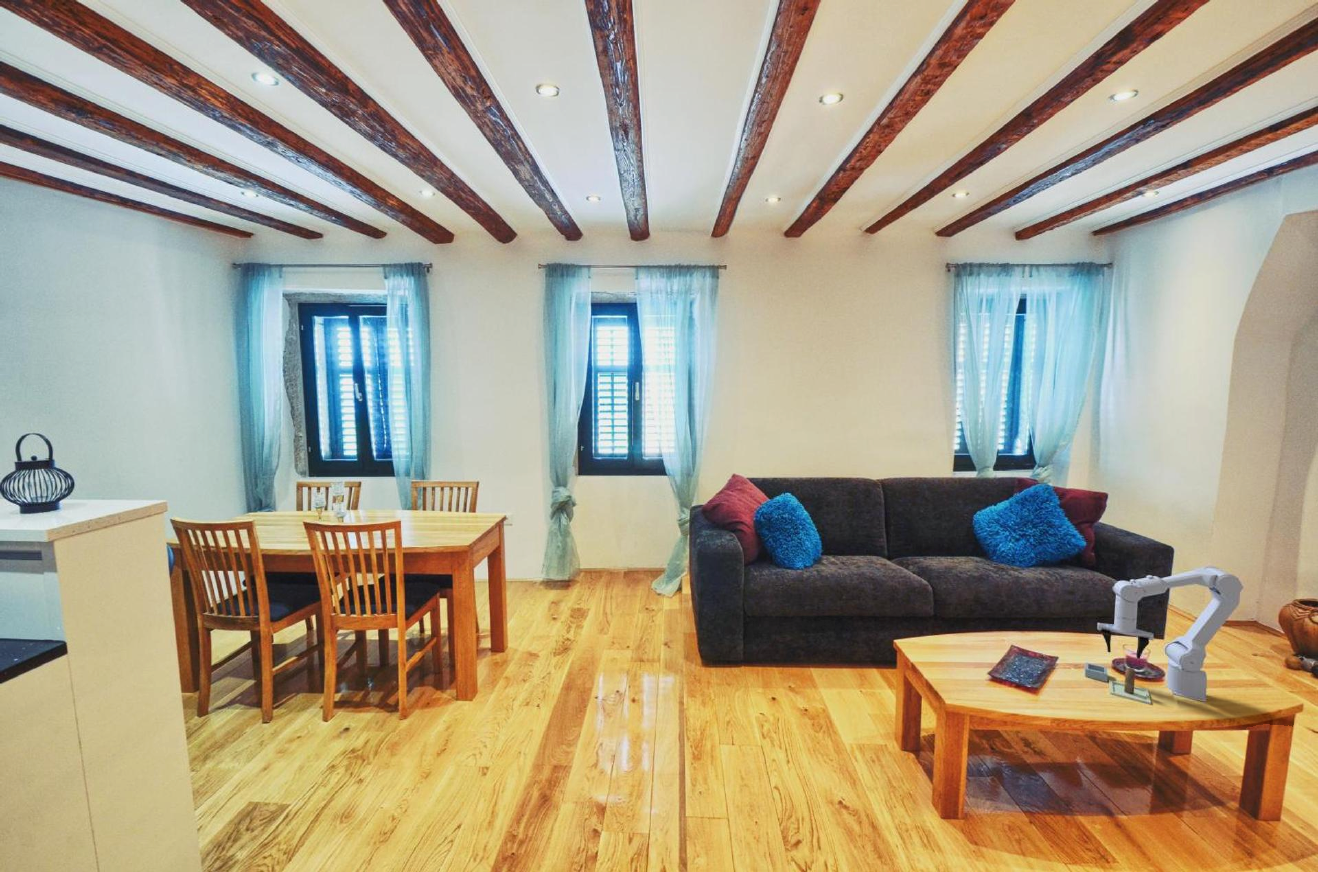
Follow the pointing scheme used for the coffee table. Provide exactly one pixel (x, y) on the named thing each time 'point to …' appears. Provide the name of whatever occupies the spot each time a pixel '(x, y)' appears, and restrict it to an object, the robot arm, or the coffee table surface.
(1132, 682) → the dowel
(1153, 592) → the robot arm
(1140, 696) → the tray
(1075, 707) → the coffee table surface
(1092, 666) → the grey open box
